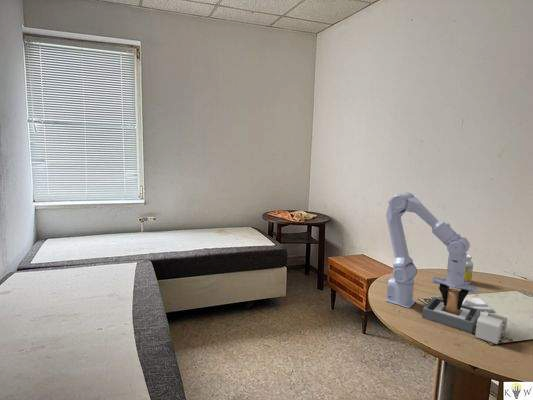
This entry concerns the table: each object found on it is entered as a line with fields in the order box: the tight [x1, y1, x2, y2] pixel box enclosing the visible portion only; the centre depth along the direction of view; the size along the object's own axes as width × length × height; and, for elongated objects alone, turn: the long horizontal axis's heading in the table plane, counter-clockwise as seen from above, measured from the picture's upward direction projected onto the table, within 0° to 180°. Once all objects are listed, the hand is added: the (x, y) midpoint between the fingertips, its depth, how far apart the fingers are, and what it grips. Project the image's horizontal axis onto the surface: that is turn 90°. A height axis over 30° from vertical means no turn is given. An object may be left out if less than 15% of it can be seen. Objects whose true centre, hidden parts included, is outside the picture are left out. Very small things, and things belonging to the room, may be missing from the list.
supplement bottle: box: [464, 254, 474, 285], centre depth 162 cm, size 7×7×13 cm
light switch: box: [462, 295, 495, 313], centre depth 138 cm, size 11×4×13 cm
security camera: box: [474, 312, 509, 345], centre depth 114 cm, size 6×7×10 cm
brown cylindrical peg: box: [446, 288, 460, 315], centre depth 126 cm, size 4×4×9 cm
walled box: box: [422, 296, 482, 334], centre depth 127 cm, size 16×14×4 cm
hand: (452, 306), depth 126 cm, fingers closed on brown cylindrical peg, 4 cm apart
